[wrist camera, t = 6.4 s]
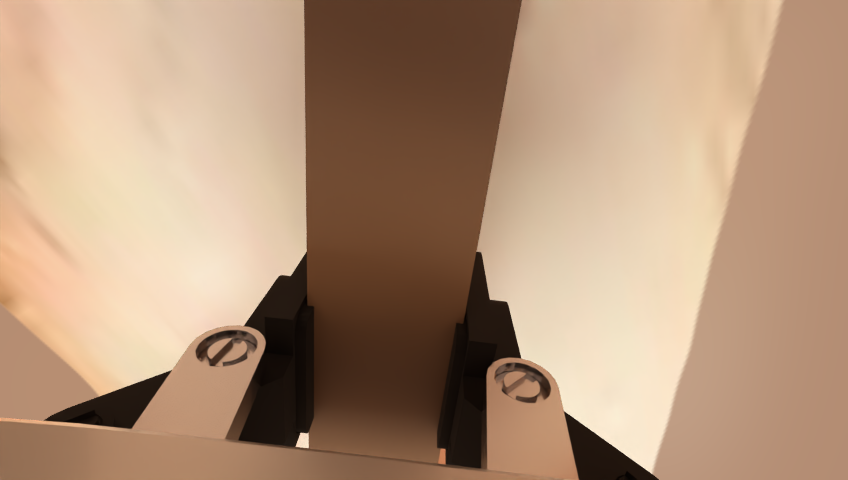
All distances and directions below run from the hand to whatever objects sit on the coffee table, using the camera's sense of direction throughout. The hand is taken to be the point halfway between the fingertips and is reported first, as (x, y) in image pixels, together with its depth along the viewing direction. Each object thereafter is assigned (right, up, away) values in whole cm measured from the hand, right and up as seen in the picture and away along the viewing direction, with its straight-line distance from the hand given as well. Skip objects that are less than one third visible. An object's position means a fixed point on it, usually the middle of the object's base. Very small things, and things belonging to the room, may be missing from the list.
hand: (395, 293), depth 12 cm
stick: (0, 0, +1) cm, 1 cm away
